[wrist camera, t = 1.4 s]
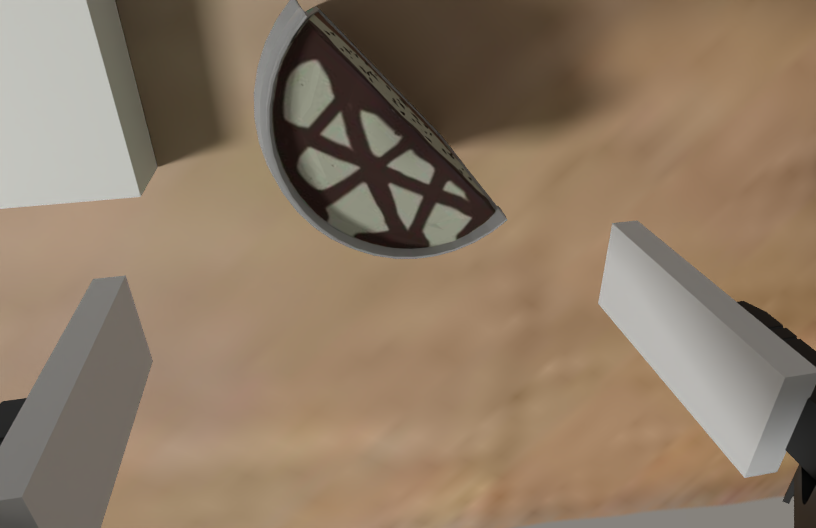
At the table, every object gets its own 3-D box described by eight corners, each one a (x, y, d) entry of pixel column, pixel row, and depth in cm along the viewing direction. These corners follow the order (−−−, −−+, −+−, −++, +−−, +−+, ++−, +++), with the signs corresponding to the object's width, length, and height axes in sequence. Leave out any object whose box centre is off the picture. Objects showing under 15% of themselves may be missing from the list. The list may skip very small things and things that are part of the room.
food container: (210, 75, 29) (176, 135, 20) (292, -19, 27) (293, 1, 19) (382, 223, 35) (412, 319, 26) (457, 151, 33) (515, 227, 25)
